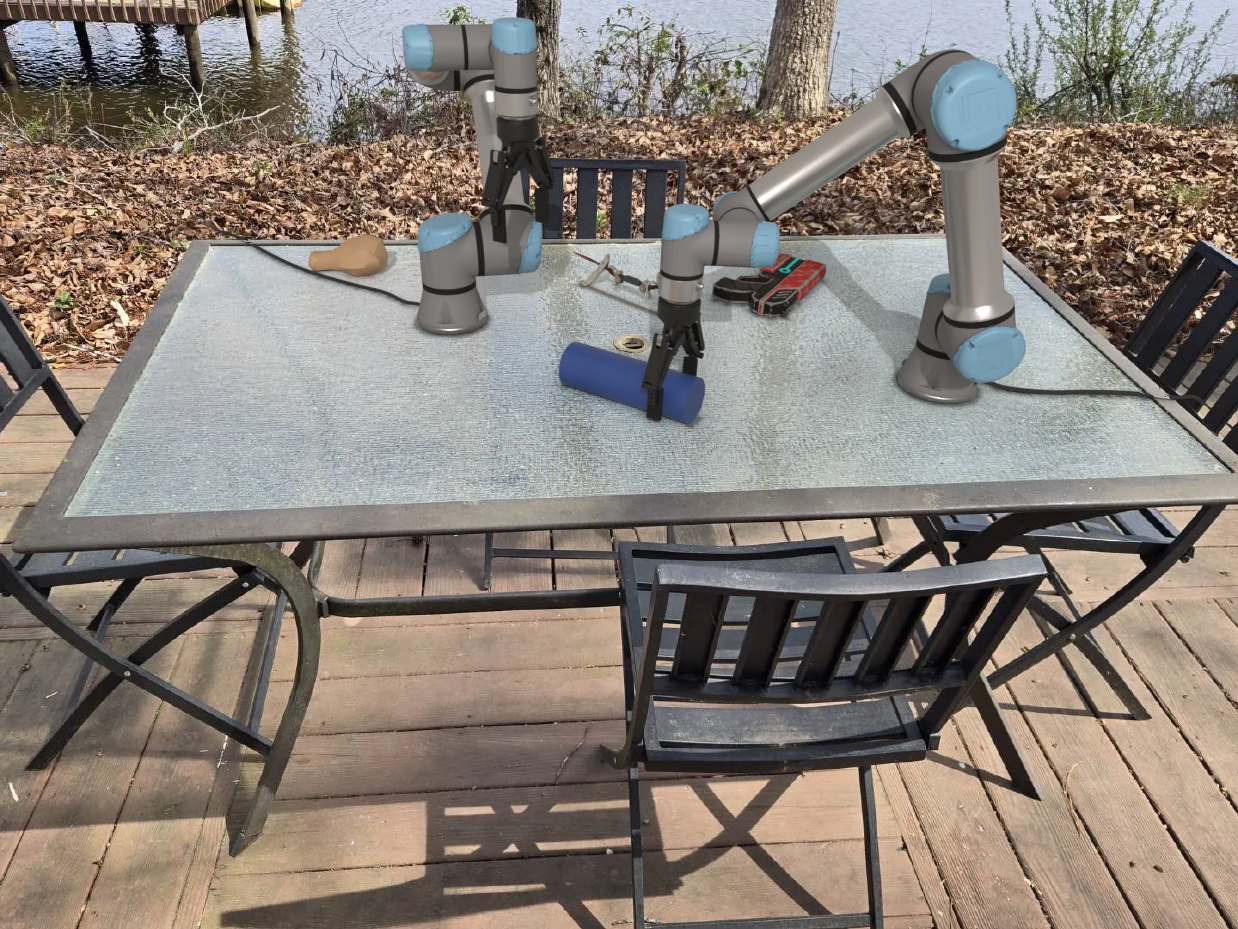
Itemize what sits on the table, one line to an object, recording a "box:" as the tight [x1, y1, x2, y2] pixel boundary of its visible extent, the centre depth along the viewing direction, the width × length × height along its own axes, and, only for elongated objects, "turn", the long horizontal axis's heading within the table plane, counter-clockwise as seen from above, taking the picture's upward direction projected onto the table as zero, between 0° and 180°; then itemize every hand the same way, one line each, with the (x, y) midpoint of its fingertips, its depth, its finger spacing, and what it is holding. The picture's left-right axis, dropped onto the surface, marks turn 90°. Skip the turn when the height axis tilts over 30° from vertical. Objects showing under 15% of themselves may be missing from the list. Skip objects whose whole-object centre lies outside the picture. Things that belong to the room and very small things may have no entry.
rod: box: [558, 341, 706, 425], centre depth 166 cm, size 27×9×9 cm, turn 59°
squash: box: [308, 233, 389, 277], centre depth 218 cm, size 11×20×9 cm, turn 90°
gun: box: [711, 252, 827, 318], centre depth 215 cm, size 4×31×19 cm
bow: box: [573, 251, 660, 314], centre depth 205 cm, size 39×2×10 cm, turn 47°
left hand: (521, 231), depth 168 cm, fingers open, 13 cm apart
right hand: (671, 403), depth 164 cm, fingers open, 13 cm apart
